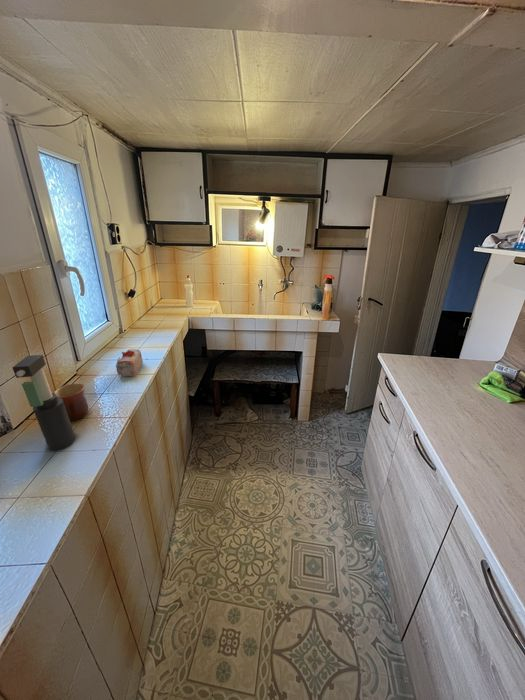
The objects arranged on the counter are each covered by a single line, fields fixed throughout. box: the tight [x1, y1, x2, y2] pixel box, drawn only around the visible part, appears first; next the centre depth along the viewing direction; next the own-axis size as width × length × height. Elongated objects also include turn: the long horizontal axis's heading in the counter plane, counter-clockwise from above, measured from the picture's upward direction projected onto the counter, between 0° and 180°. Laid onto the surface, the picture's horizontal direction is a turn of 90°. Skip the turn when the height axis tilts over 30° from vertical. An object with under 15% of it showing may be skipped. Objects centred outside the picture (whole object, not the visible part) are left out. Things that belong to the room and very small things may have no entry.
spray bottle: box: [12, 354, 76, 451], centre depth 79 cm, size 10×7×28 cm
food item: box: [115, 348, 144, 377], centre depth 126 cm, size 14×8×10 cm, turn 6°
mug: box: [53, 382, 89, 421], centre depth 97 cm, size 12×9×10 cm
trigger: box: [21, 380, 44, 408], centre depth 74 cm, size 1×3×7 cm, turn 102°
